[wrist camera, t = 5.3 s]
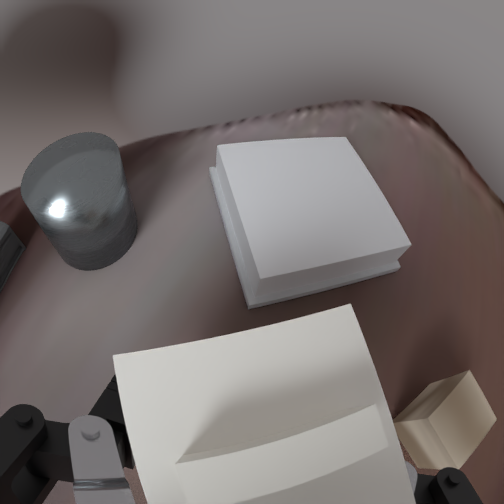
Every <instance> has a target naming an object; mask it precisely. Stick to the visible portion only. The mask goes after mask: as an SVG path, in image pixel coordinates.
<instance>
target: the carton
mask: <svg viewBox="0 0 504 504" xmlns="http://www.w3.org/2000/svg"><path fill="white" fill-rule="evenodd" d="M113 360H114V367H115V373H116V379H117V385H118V390H119V396H120V401H121V406H122V411H123V415H124V420H125V424H126V429H127V433H128V437H129V441H130V445H131V449H132V453H133V457H134V460H135V464H136V467H137V471H138V474H139V478H140V481H141V484H142V487H143V491H144V494H145V497H146V500H147V503H148V504H416V502H415V498H414V494H413V490H412V486H411V483H410V479H409V475H408V471H407V468H406V464H405V461H404V457H403V454H402V450H401V447H400V443H399V440H398V437H397V433H396V430H395V427H394V424H393V420H392V417H391V414H390V411H389V408H388V405H387V402H386V399H385V396H384V393H383V390H382V387H381V384H380V381H379V378H378V375H377V372H376V370H375V367H374V364H373V361H372V358H371V356H370V353H369V350H368V347H367V345H366V342H365V339H364V337H363V334H362V331H361V329H360V326H359V323H358V321H357V318H356V316H355V313H354V311H353V308H352V306H351V304H347V305H344V306H340V307H337V308H333V309H330V310H326V311H322V312H319V313H315V314H311V315H307V316H304V317H300V318H296V319H292V320H288V321H284V322H280V323H276V324H272V325H268V326H263V327H259V328H255V329H250V330H246V331H242V332H237V333H233V334H228V335H223V336H219V337H214V338H209V339H204V340H199V341H194V342H189V343H184V344H178V345H173V346H167V347H162V348H156V349H150V350H144V351H138V352H132V353H125V354H119V355H113Z"/></svg>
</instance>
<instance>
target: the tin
mask: <svg viewBox="0 0 504 504" xmlns="http://www.w3.org/2000/svg"><path fill="white" fill-rule="evenodd" d="M21 195H22V198H23V200H24V202H25V203H26V205H27V207H28V208H29V210H30V211H31V213H32V215H33V216H34V218H35V219H36V221H37V222H38V224H39V225H40V227H41V228H42V230H43V231H44V233H45V234H46V236H47V237H48V239H49V240H50V242H51V243H52V245H53V246H54V247H55V249H56V250H57V252H58V253H59V254H60V256H61V257H62V259H63V260H64V261H65V262H66V263H67V264H69V265H70V266H72V267H74V268H76V269H79V270H98V269H101V268H104V267H107V266H109V265H111V264H113V263H114V262H116V261H117V260H119V259H120V258H121V257H122V256H123V255H124V254H125V253H126V252H127V251H128V250H129V248H130V247H131V245H132V243H133V242H134V239H135V237H136V233H137V227H138V225H137V217H136V214H135V210H134V207H133V203H132V199H131V196H130V192H129V188H128V184H127V181H126V177H125V173H124V169H123V165H122V161H121V156H120V152H119V149H118V146H117V144H116V143H115V142H114V141H113V140H112V139H111V138H110V137H108V136H106V135H103V134H100V133H94V132H93V133H92V132H85V133H78V134H73V135H70V136H67V137H65V138H62V139H60V140H58V141H56V142H54V143H53V144H51V145H49V146H48V147H46V148H45V149H44V150H43V151H41V152H40V153H39V154H38V155H37V156H36V157H35V158H34V159H33V161H32V162H31V163H30V165H29V166H28V168H27V169H26V171H25V173H24V176H23V179H22V183H21Z"/></svg>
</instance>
